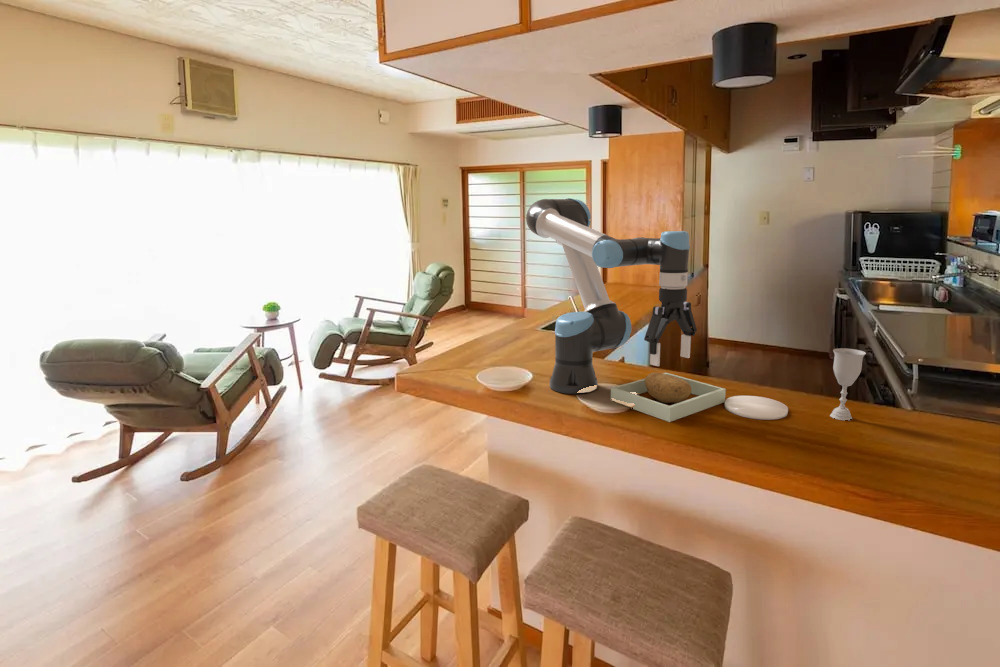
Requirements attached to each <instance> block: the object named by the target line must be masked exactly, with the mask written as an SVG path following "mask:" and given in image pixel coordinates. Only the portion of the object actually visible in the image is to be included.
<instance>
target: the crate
mask: <svg viewBox="0 0 1000 667" xmlns="http://www.w3.org/2000/svg"><path fill="white" fill-rule="evenodd" d="M662 374H666V375H671V376H674V377H677V378H679V379H683V380H685V381H686V382H688V384H689V385H690V386H691V389H692V391H691V393H690V395H696V396H694V397H691V398H689V399H686V400H682V401H681V402H678V403H674V404H671V405H668V404H666V403H663V402H660V401H657V400H656V401H655V400H652V399H650V398H647V397H644V396H640V394H644V393H647V392H648V390H647V388H646V386H645V378H642V379H637V380H635V381H631V382H628V383H624V384H620V385H617V386H613V387H611V388H610V399H611V398H614V399H616V400H620V401H624V402H627V403H634V404H635V406H634V407H633V409H632V410H634V411H638V412H641V413H643V414H646V415H649V416H652V417H655V418H657V419H659V420H660V419H661V420H662V421H665V422H668V423H671V422H673V421H677V420H679V419H681V418H685V417H687V416H690V415H693V414H697V413H698V412H701V411H704V410H707V409H710V408H712V407H715V406H718V405H720V404H723V403H724V404H725V400H726V392H727V389H726V388H724V387H721V386H715V385H712V384H710V383H706V382H701V381H698V380H694V379H690V378H687V377H684V376H680V375H676V374H673V373H670V372H662ZM630 392H636V393H639V394H637V395H635V394H632V393H630Z"/></svg>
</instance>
